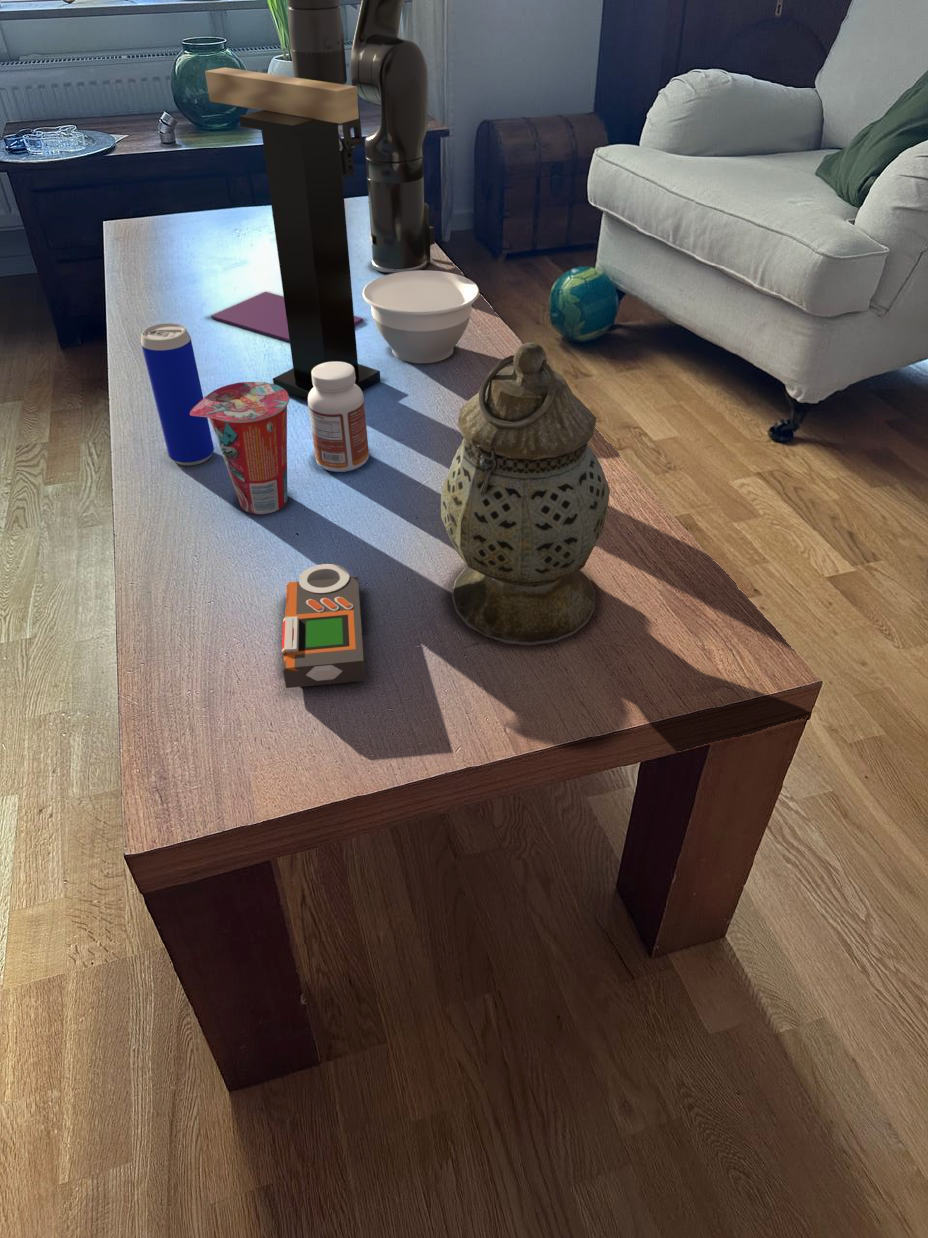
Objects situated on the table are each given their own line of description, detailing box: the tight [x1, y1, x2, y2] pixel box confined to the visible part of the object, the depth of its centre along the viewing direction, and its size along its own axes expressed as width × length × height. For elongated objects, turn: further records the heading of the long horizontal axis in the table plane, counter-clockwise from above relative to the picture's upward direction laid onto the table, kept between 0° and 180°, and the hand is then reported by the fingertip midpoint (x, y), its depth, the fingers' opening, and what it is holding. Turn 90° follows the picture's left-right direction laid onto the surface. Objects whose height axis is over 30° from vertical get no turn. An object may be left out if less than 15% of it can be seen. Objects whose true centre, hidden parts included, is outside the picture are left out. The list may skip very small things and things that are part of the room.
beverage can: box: [140, 322, 215, 466], centre depth 98 cm, size 5×5×15 cm
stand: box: [238, 110, 381, 402], centre depth 107 cm, size 10×10×32 cm
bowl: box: [362, 269, 480, 364], centre depth 123 cm, size 16×16×9 cm
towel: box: [210, 291, 364, 343], centre depth 134 cm, size 12×20×1 cm, turn 56°
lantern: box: [440, 341, 611, 646], centre depth 75 cm, size 14×14×25 cm
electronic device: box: [281, 563, 367, 689], centre depth 78 cm, size 7×3×15 cm
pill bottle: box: [307, 362, 370, 473], centre depth 99 cm, size 6×6×11 cm
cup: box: [190, 381, 290, 515], centre depth 92 cm, size 9×8×12 cm
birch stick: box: [204, 67, 359, 123], centre depth 97 cm, size 20×3×3 cm, turn 54°
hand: (329, 171), depth 134 cm, fingers open, 8 cm apart
